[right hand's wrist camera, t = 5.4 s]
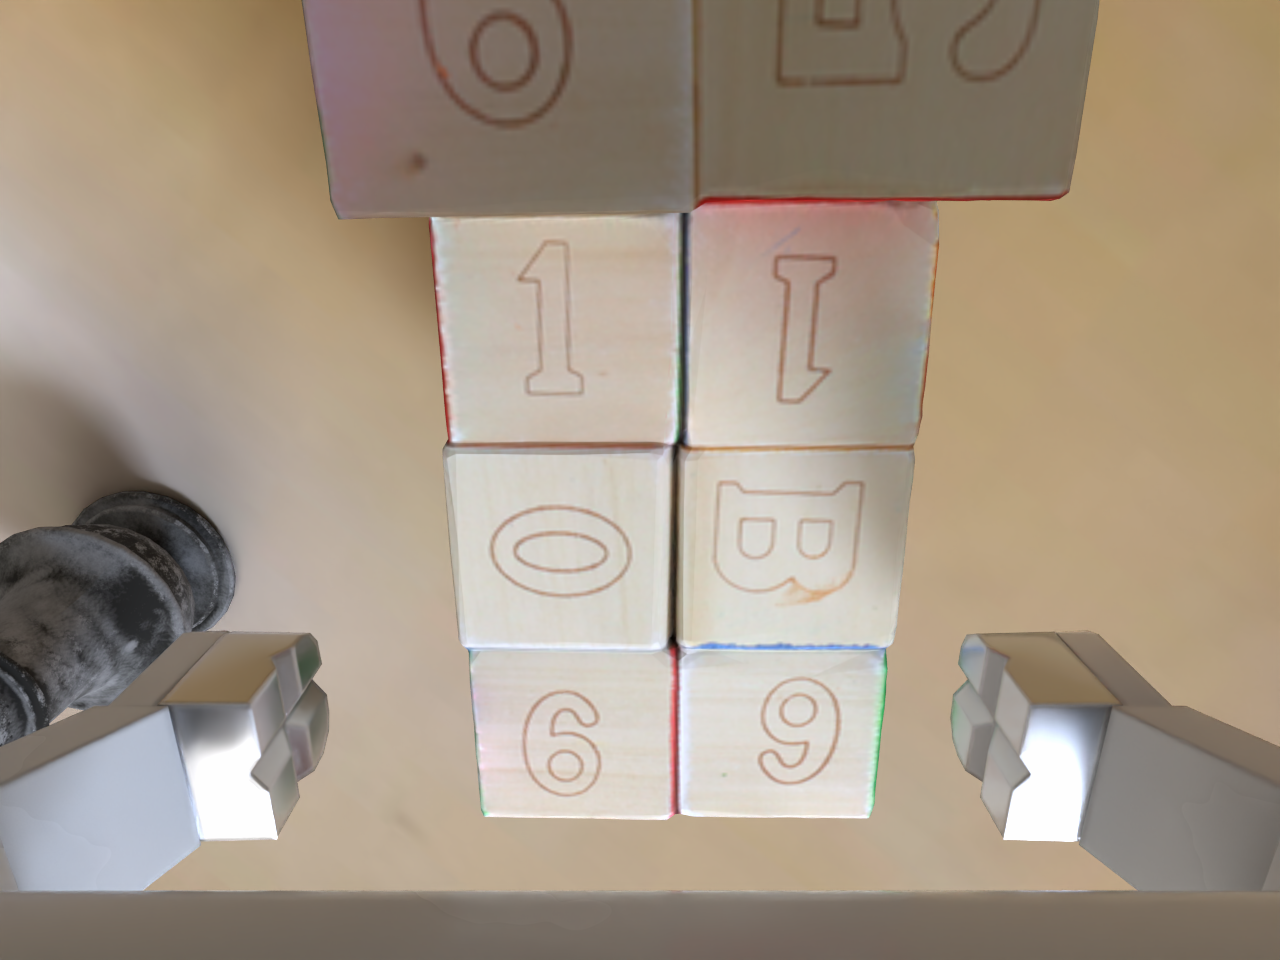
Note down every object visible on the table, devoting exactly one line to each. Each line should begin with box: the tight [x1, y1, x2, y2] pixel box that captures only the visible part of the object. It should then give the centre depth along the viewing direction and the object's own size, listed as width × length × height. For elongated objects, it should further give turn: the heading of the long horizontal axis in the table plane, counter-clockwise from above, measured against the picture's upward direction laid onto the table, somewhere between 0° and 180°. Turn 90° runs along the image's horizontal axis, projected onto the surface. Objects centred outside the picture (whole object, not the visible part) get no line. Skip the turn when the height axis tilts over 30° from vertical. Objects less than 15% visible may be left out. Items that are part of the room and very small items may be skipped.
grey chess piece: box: [0, 491, 235, 747], centre depth 20 cm, size 6×6×12 cm
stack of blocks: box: [302, 0, 1099, 820], centre depth 12 cm, size 21×6×12 cm, turn 0°
